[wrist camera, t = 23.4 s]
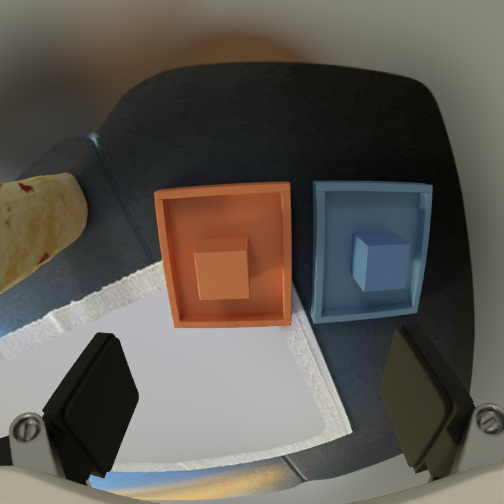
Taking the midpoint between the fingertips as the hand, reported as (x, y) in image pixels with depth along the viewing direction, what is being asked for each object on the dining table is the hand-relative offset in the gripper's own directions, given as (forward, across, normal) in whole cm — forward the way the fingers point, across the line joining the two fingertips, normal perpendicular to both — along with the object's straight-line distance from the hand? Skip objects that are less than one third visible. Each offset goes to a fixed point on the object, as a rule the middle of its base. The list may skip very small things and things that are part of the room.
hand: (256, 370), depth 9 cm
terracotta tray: (+21, +3, +4) cm, 22 cm away
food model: (+22, +21, -2) cm, 30 cm away
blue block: (+21, -12, +4) cm, 24 cm away
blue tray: (+21, -12, +4) cm, 25 cm away
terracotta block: (+21, +3, +4) cm, 21 cm away
